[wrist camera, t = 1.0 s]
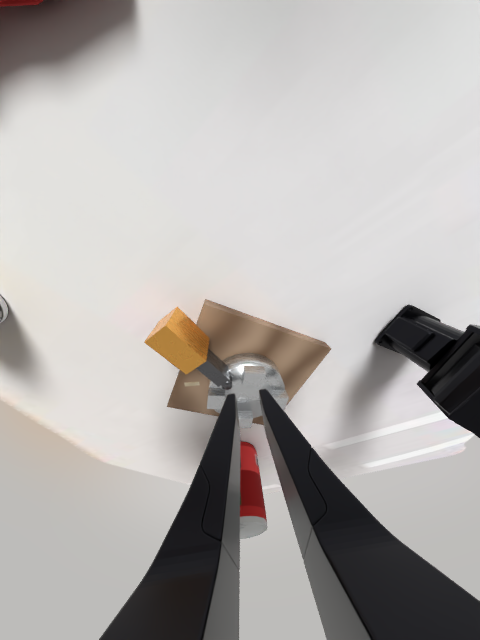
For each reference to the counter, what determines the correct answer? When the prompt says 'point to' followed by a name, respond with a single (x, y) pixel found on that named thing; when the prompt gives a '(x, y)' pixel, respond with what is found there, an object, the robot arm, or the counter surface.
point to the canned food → (250, 494)
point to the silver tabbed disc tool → (218, 367)
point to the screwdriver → (19, 2)
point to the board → (247, 337)
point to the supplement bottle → (3, 310)
